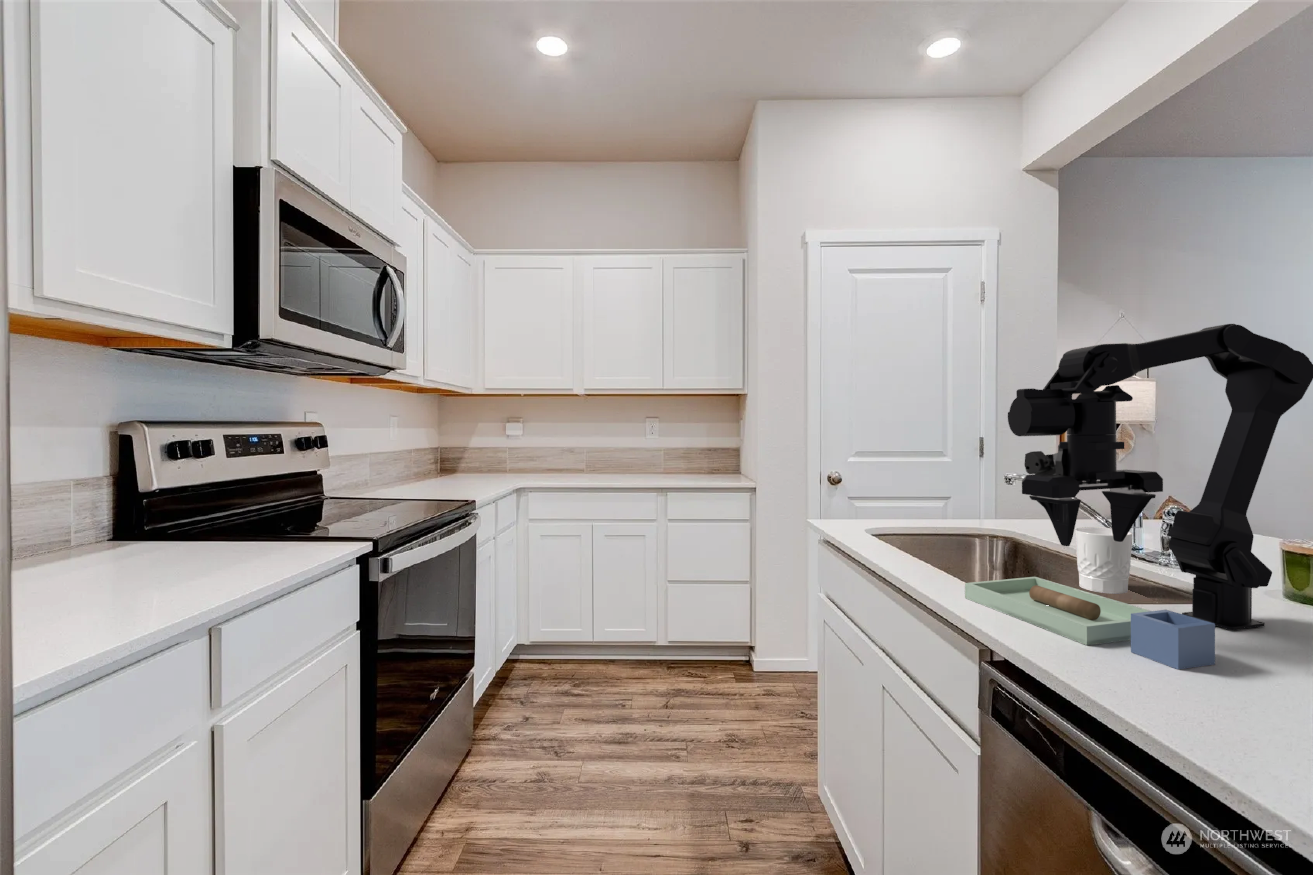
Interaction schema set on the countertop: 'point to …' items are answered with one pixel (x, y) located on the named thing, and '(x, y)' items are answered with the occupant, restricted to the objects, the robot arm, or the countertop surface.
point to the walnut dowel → (1065, 602)
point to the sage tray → (1056, 609)
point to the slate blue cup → (1173, 639)
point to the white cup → (1103, 560)
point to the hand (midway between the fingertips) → (1092, 543)
